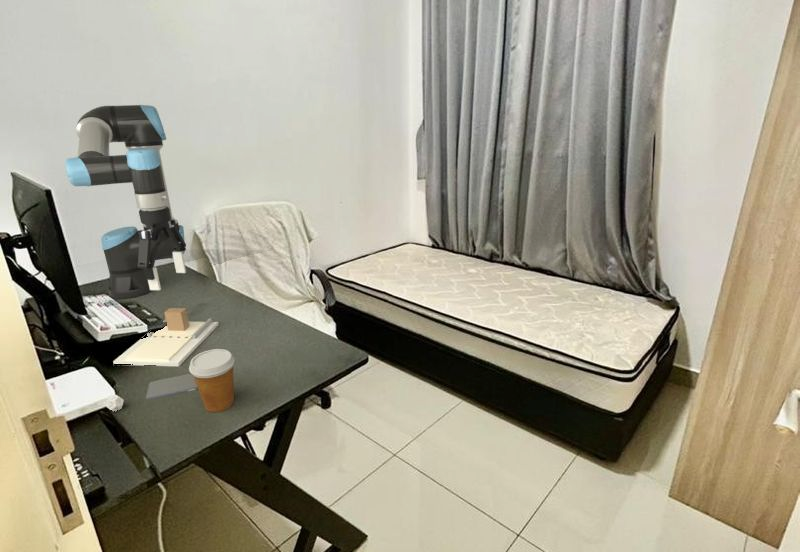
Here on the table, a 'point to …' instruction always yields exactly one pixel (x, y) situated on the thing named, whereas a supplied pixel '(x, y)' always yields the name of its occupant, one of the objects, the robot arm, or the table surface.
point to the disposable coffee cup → (214, 378)
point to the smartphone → (171, 386)
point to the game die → (114, 403)
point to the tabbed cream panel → (177, 324)
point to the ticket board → (165, 348)
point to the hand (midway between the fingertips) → (169, 280)
